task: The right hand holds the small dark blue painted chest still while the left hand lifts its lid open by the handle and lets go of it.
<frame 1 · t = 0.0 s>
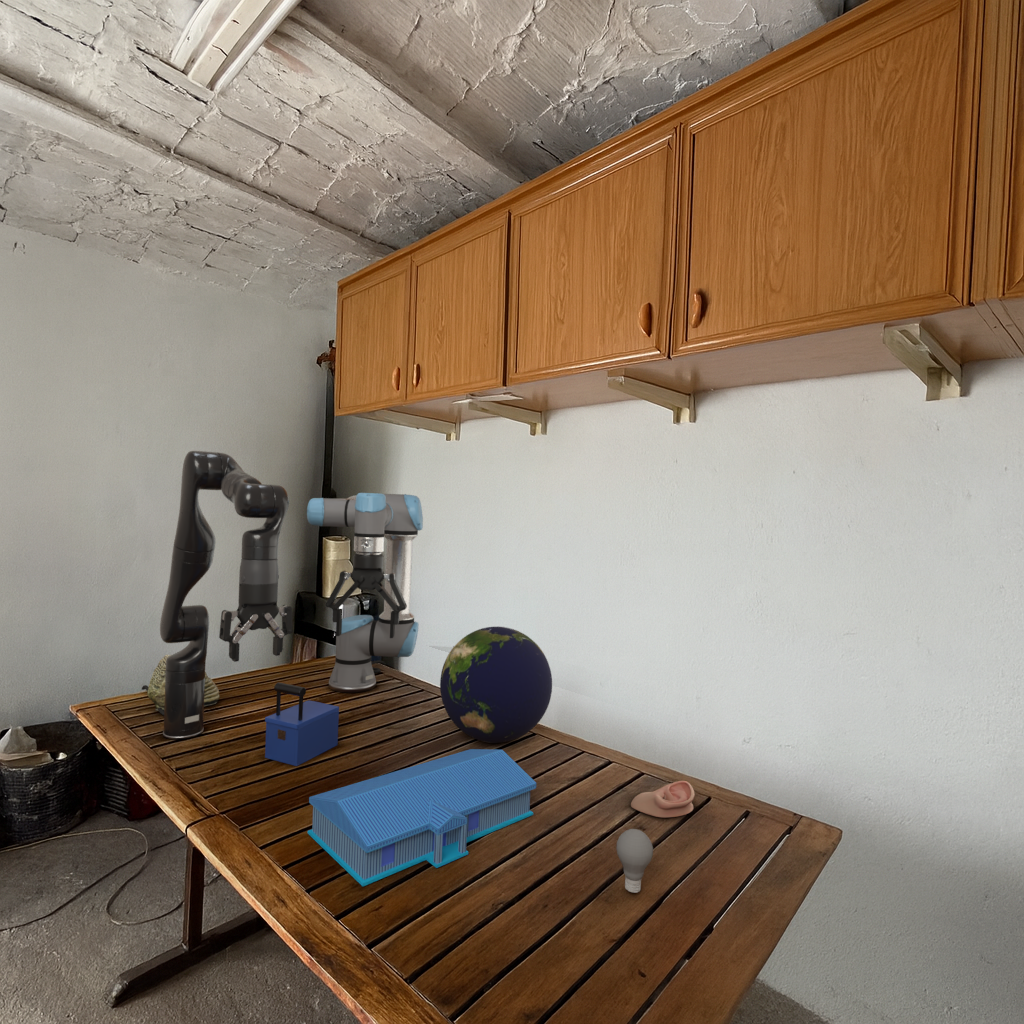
left hand: (256, 657, 132), 29 cm above the table, tool pointing down, fingers open, 8 cm apart
right hand: (365, 636, 162), 28 cm above the table, tool pointing down, fingers open, 13 cm apart
light bulb: (632, 891, 106), on the table
chest: (302, 751, 157), on the table
globe: (493, 739, 170), on the table
lid: (303, 698, 156), point 13 cm above the table, hinge at 0.0°
anatomical model: (662, 806, 136), on the table
model building: (429, 827, 123), on the table
fossil: (183, 706, 185), on the table
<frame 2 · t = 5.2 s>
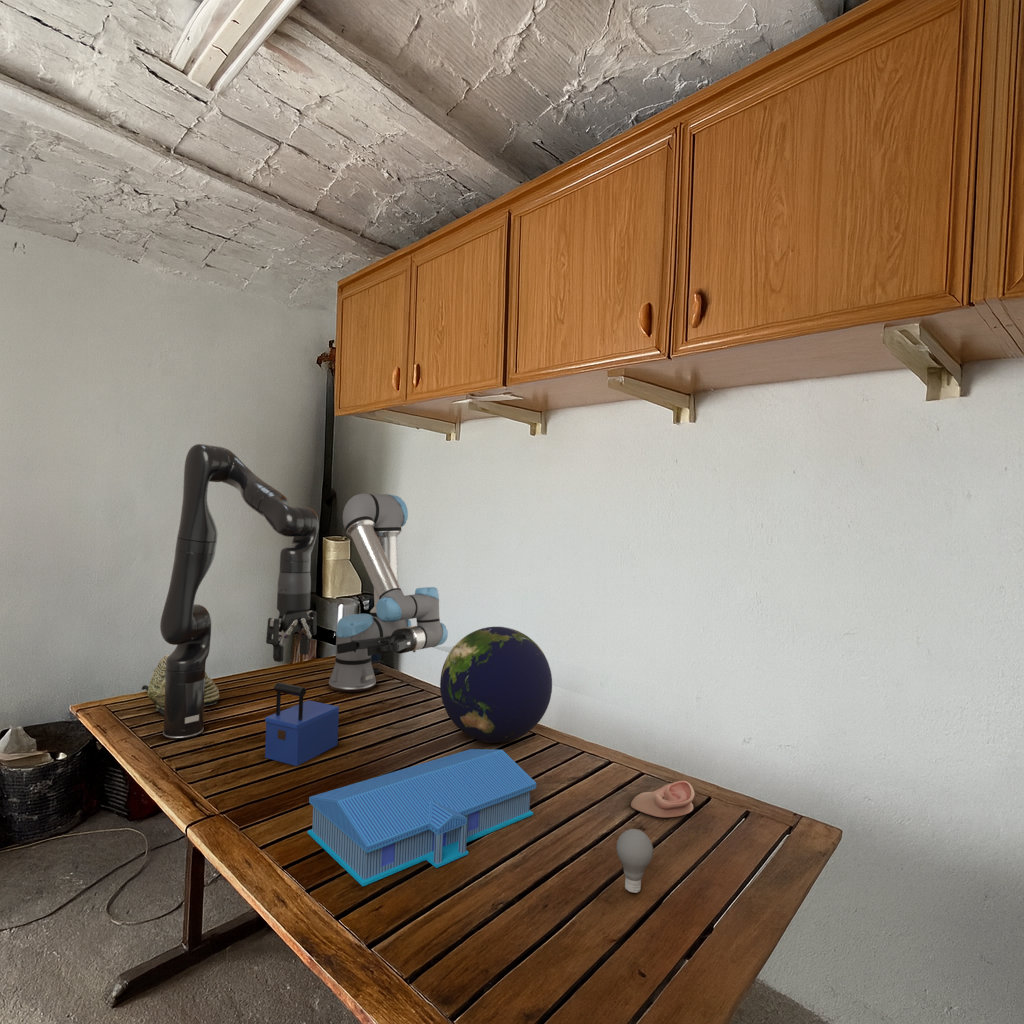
left hand: (291, 657, 152), 24 cm above the table, tool pointing down, fingers open, 8 cm apart
right hand: (352, 650, 182), 19 cm above the table, tool horizontal, fingers open, 13 cm apart
nothing on the table moved.
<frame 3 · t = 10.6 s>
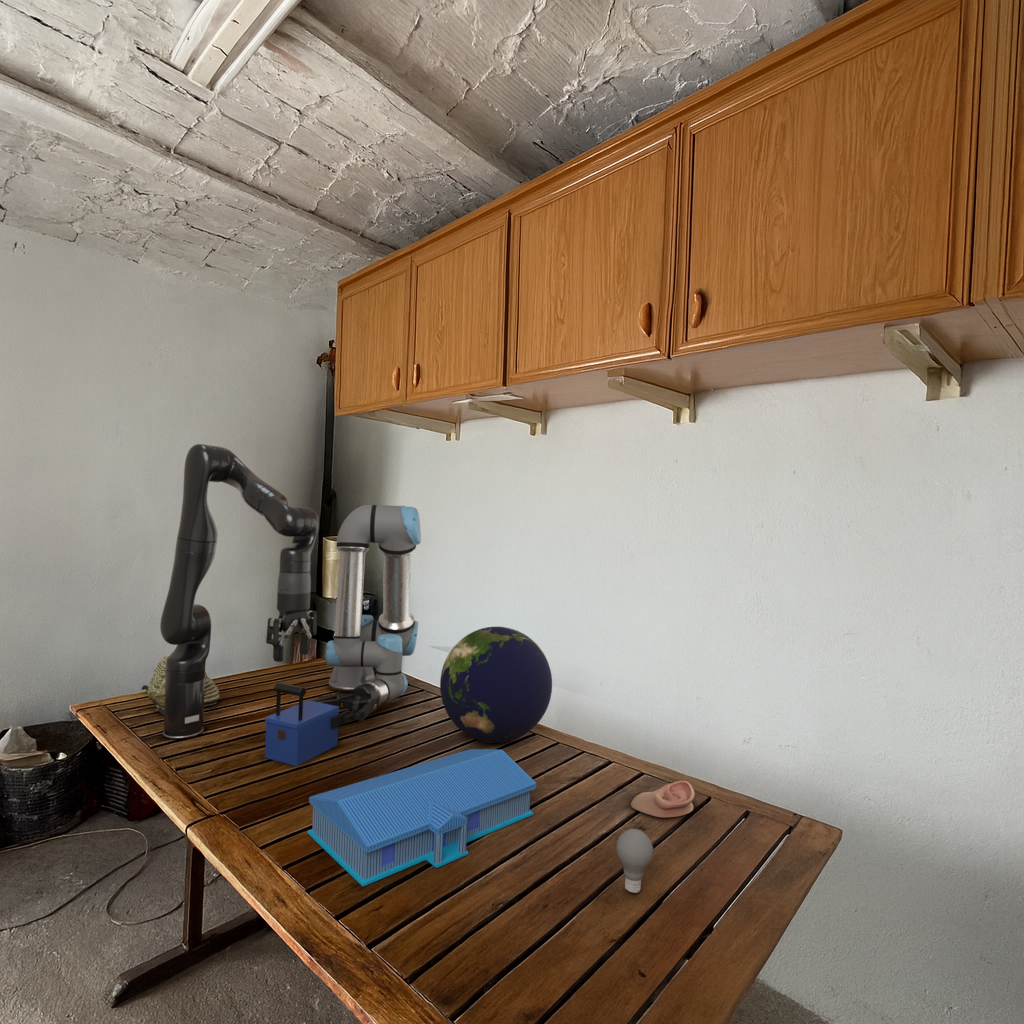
left hand: (291, 657, 152), 24 cm above the table, tool pointing down, fingers open, 8 cm apart
right hand: (315, 719, 161), 7 cm above the table, tool horizontal, fingers closed on chest, 10 cm apart
chest: (302, 751, 157), on the table, touching right hand
everything else where it was.
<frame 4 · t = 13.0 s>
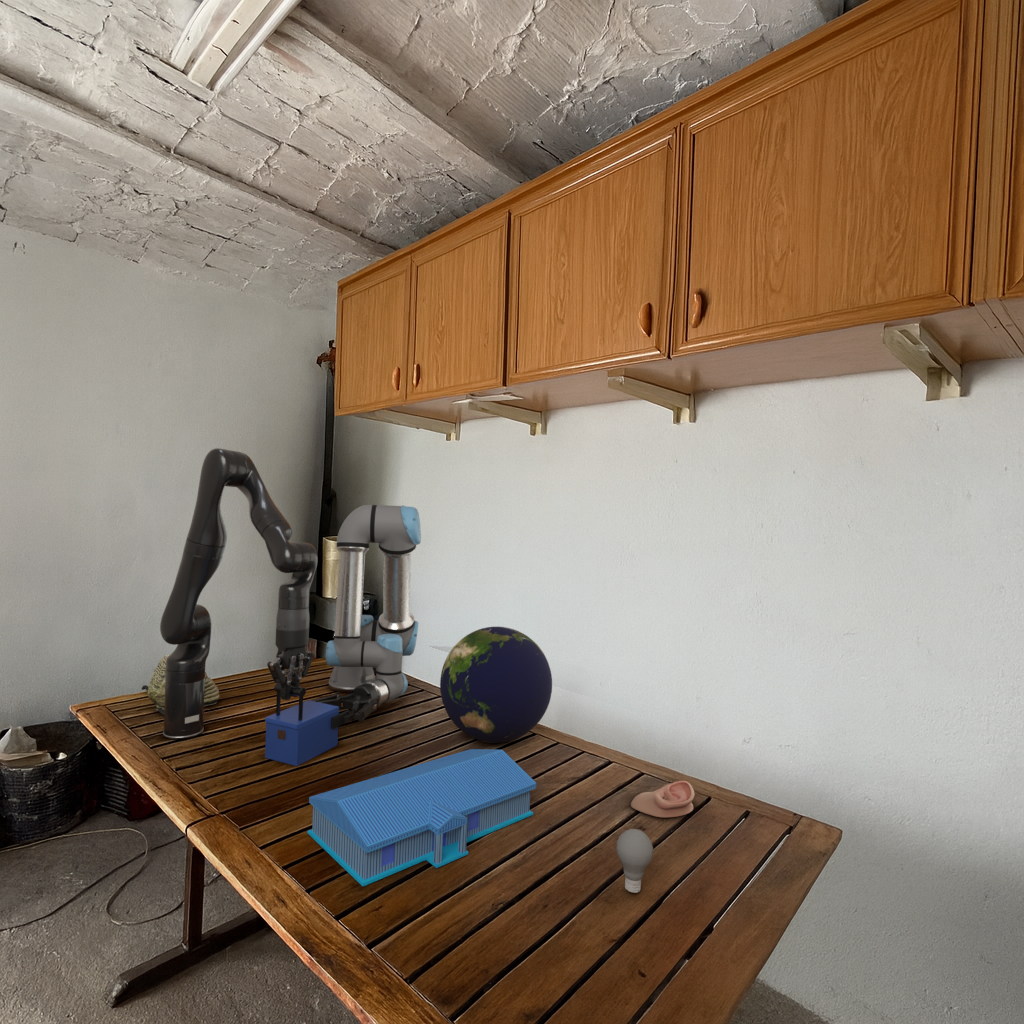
left hand: (290, 697, 152), 15 cm above the table, tool pointing down, fingers closed on lid, 2 cm apart
right hand: (315, 719, 161), 7 cm above the table, tool horizontal, fingers closed on chest, 10 cm apart
chest: (302, 751, 157), on the table, touching right hand
lid: (303, 698, 156), point 13 cm above the table, hinge at -0.1°, touching left hand
everything else where it was.
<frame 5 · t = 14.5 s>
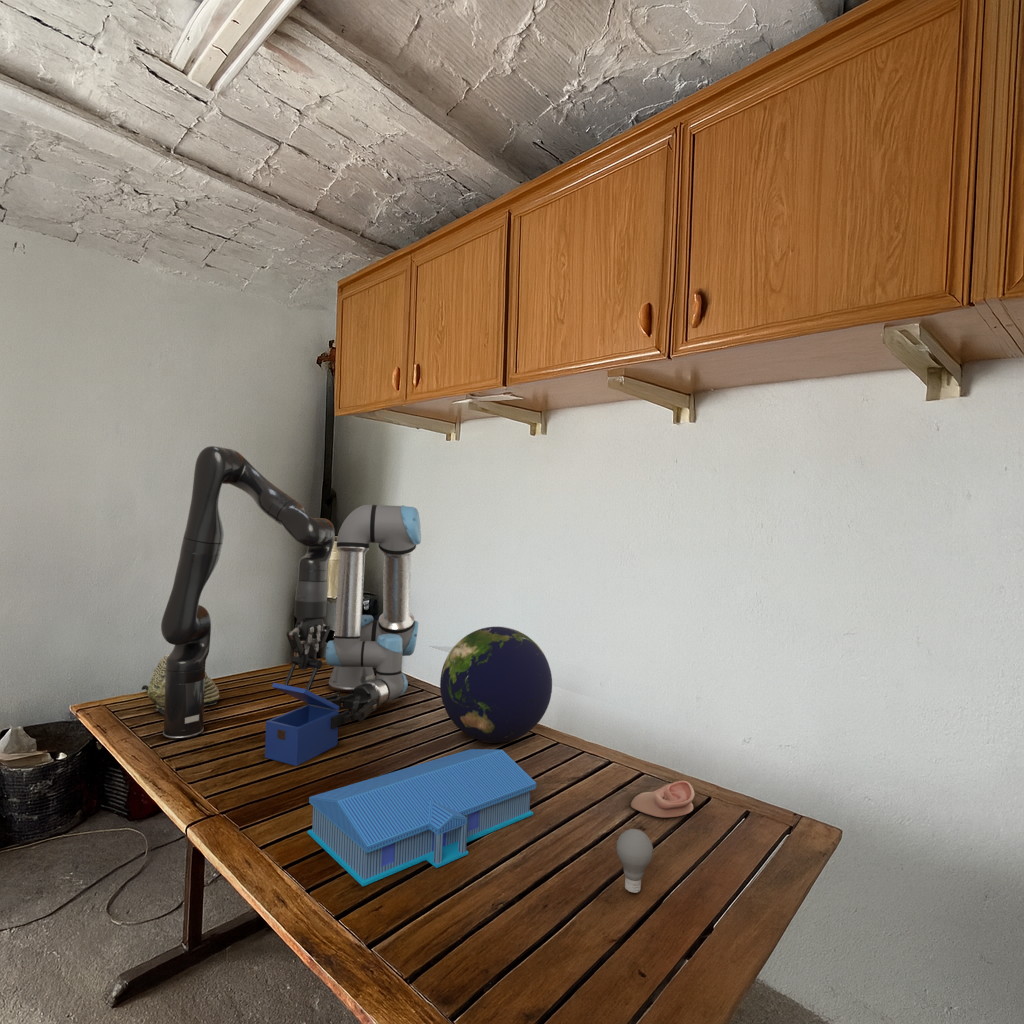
left hand: (307, 667, 157), 21 cm above the table, tool pointing down, fingers closed on lid, 2 cm apart
right hand: (315, 719, 161), 7 cm above the table, tool horizontal, fingers closed on chest, 10 cm apart
chest: (302, 751, 157), on the table, touching right hand
lid: (312, 681, 159), point 17 cm above the table, hinge at 31.2°, touching left hand
everything else where it was.
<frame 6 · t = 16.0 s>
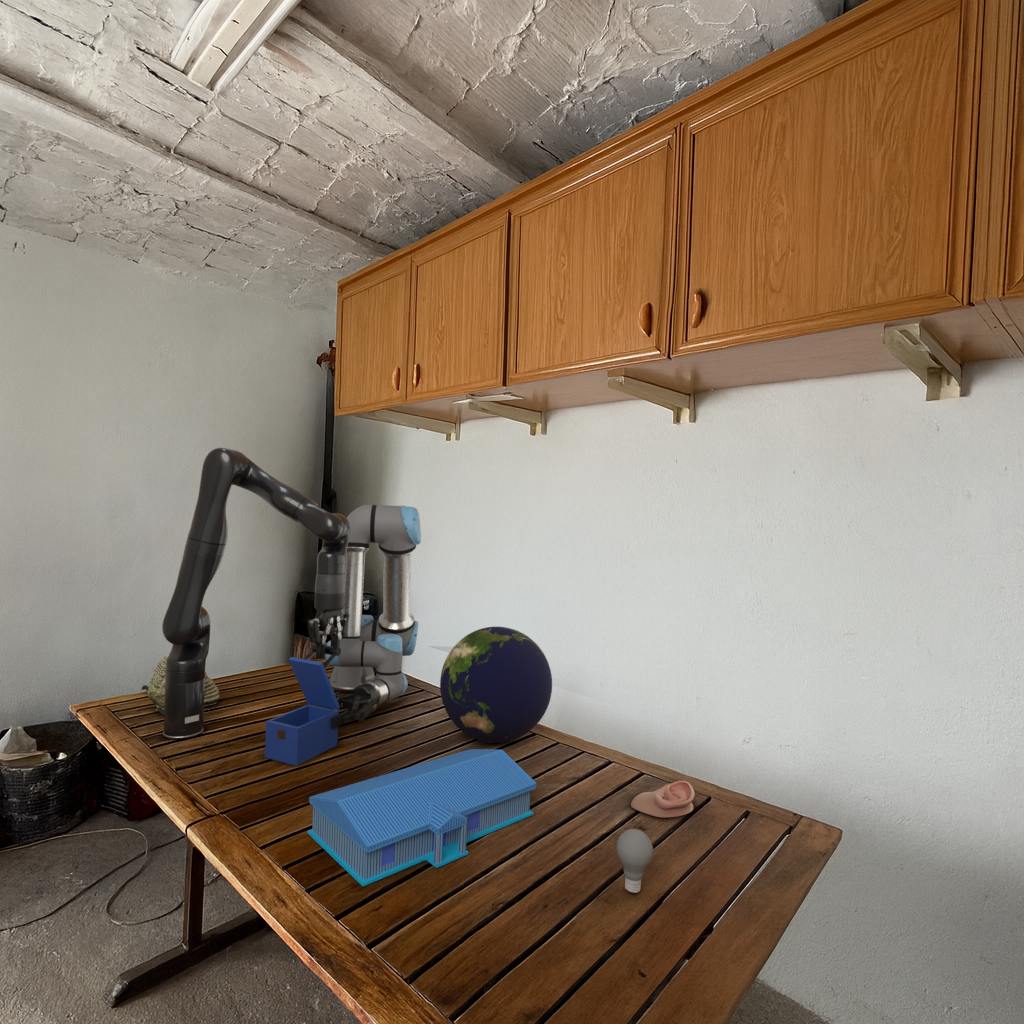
left hand: (327, 655, 164), 22 cm above the table, tool pointing down, fingers open, 5 cm apart
right hand: (315, 719, 161), 7 cm above the table, tool horizontal, fingers closed on chest, 10 cm apart
chest: (302, 751, 157), on the table, touching right hand
lid: (324, 672, 163), point 18 cm above the table, hinge at 60.2°
everything else where it was.
when the right hand's fingers open (7 cm above the table, at t = 19.8 s): chest stays where it is, on the table.
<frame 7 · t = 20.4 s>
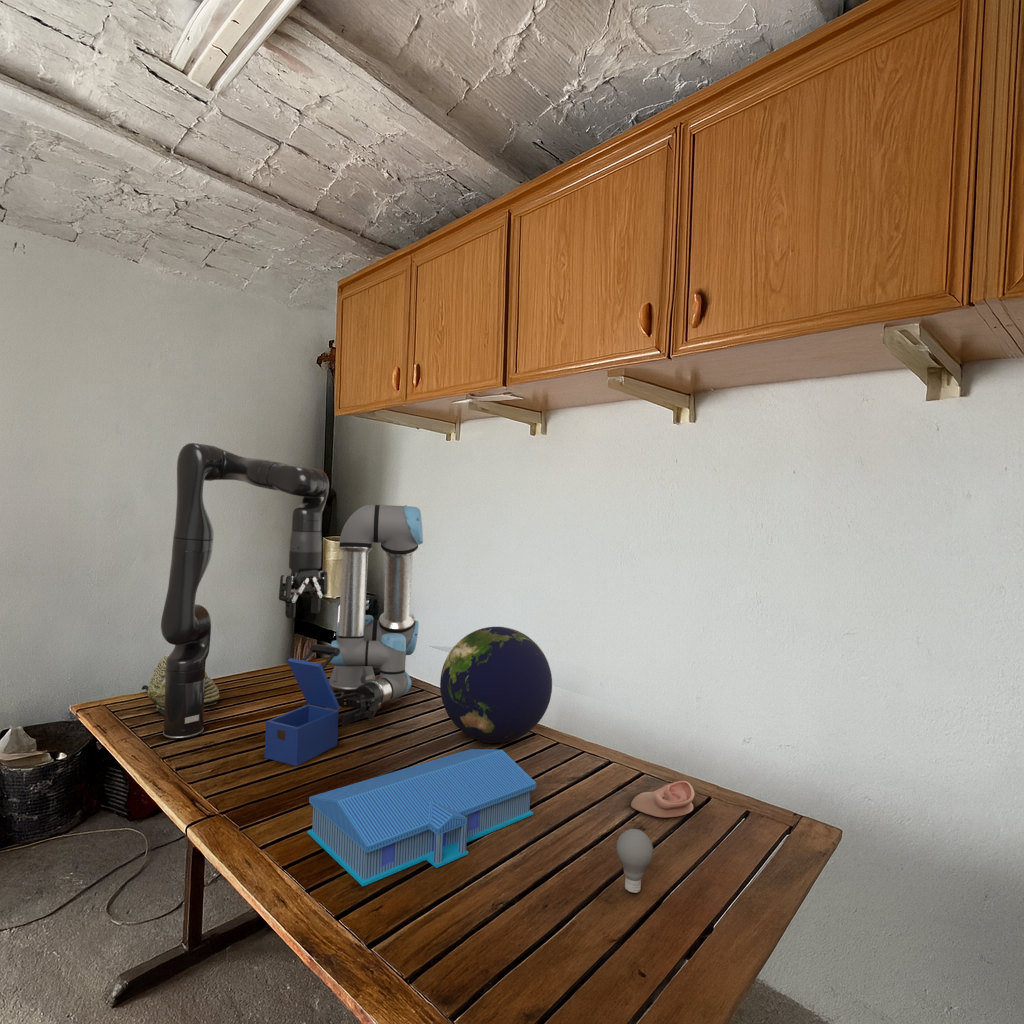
left hand: (303, 615, 155), 34 cm above the table, tool pointing down, fingers open, 8 cm apart
right hand: (321, 716, 163), 7 cm above the table, tool horizontal, fingers open, 13 cm apart
chest: (302, 751, 157), on the table
lid: (323, 673, 163), point 18 cm above the table, hinge at 58.7°
everything else where it was.
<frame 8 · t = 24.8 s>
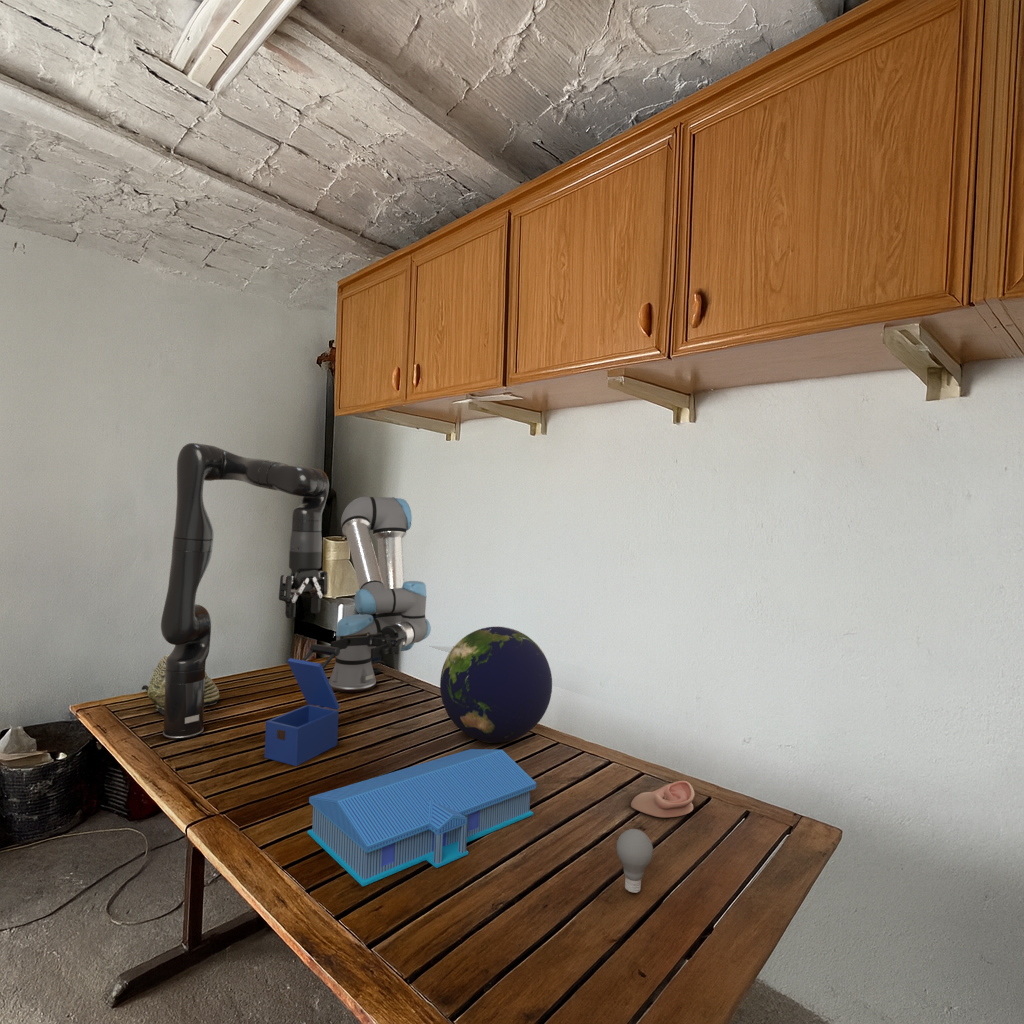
left hand: (303, 615, 155), 34 cm above the table, tool pointing down, fingers open, 8 cm apart
right hand: (351, 650, 173), 21 cm above the table, tool horizontal, fingers open, 13 cm apart
nothing on the table moved.
at the end: lid at +59° (first picture: +0°); the left hand is holding nothing; the right hand is holding nothing; chest tilted 0°; chest never tilted more than 1° during the clip; chest moved 0.1 cm from its start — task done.
